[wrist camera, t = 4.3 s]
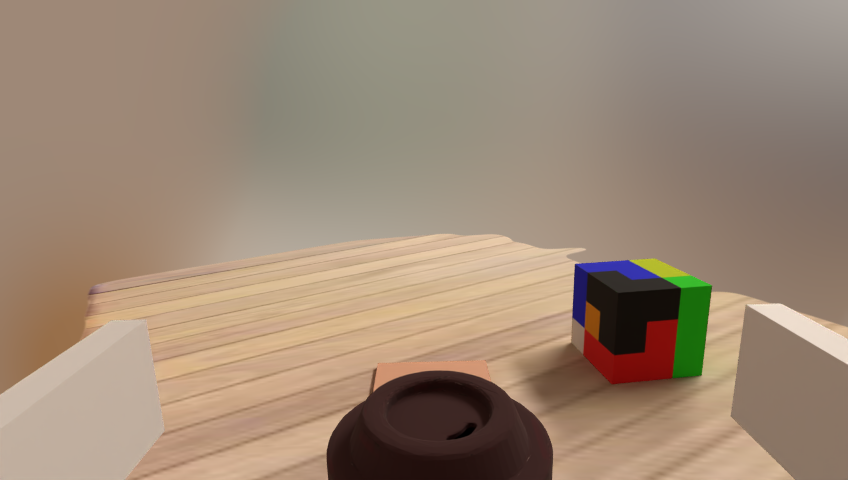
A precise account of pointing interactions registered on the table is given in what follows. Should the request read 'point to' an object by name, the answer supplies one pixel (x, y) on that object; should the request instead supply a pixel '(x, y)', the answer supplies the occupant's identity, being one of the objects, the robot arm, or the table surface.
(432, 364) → the game board
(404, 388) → the coffee cup
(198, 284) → the table surface
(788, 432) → the robot arm
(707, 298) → the puzzle toy
